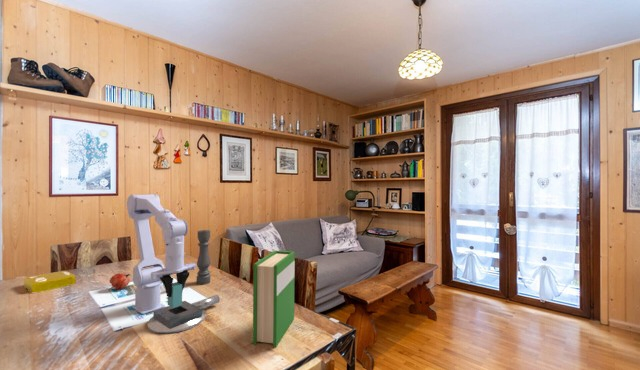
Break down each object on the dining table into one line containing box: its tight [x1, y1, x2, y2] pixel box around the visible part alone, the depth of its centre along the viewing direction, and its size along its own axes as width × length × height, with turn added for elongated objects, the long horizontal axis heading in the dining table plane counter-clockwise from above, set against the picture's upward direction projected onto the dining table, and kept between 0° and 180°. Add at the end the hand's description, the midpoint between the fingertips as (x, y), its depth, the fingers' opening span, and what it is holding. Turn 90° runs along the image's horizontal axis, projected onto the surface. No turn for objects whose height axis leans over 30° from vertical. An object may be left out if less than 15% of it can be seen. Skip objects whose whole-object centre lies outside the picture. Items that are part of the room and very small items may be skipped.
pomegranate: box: [108, 273, 131, 291], centre depth 126 cm, size 7×7×10 cm
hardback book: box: [252, 250, 296, 348], centre depth 91 cm, size 18×7×24 cm, turn 168°
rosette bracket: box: [147, 294, 221, 335], centre depth 100 cm, size 18×24×4 cm
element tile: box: [23, 270, 77, 293], centre depth 130 cm, size 15×15×5 cm
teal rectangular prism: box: [167, 281, 183, 308], centre depth 96 cm, size 4×3×7 cm
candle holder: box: [196, 229, 211, 286], centre depth 135 cm, size 6×6×25 cm
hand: (174, 294), depth 96 cm, fingers closed on teal rectangular prism, 3 cm apart
